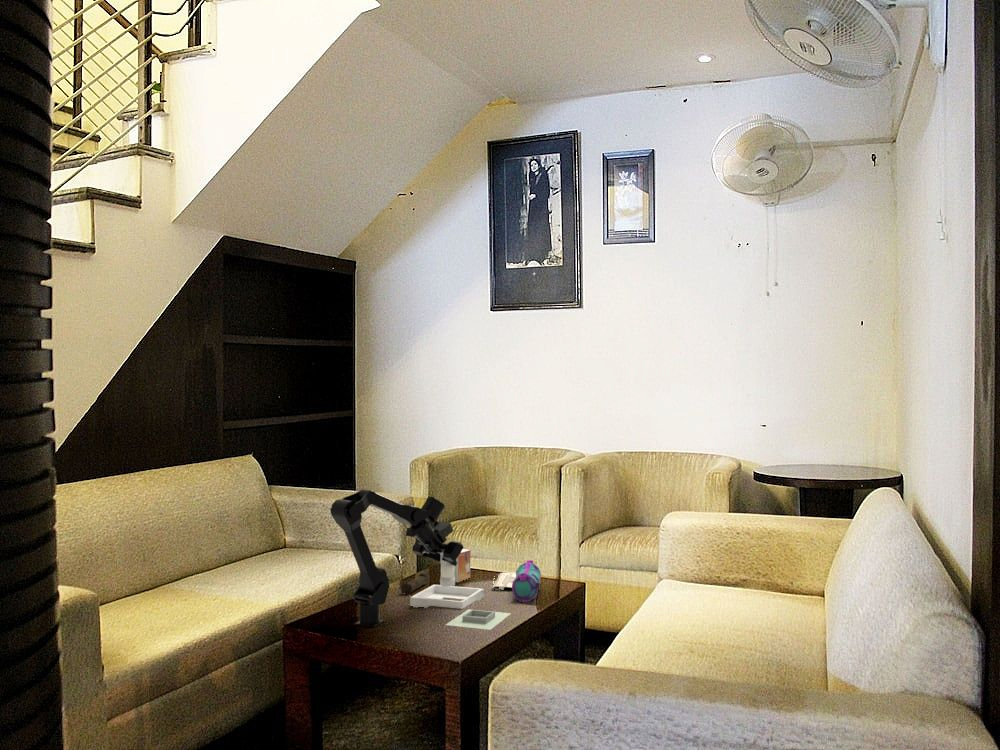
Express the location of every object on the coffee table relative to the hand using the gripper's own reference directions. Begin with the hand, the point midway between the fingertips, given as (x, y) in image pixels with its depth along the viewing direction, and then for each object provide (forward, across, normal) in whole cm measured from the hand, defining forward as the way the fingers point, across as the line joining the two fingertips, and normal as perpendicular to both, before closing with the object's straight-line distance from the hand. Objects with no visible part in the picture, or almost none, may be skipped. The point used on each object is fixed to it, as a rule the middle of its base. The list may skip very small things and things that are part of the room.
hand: (450, 563), depth 276 cm
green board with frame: (+1, -23, +17) cm, 29 cm away
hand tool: (+12, +22, +5) cm, 26 cm away
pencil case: (+25, -13, -8) cm, 30 cm away
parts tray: (+8, 0, +10) cm, 12 cm away
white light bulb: (+4, 0, +6) cm, 7 cm away
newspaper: (+31, +2, -13) cm, 34 cm away
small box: (+25, +20, -8) cm, 33 cm away
